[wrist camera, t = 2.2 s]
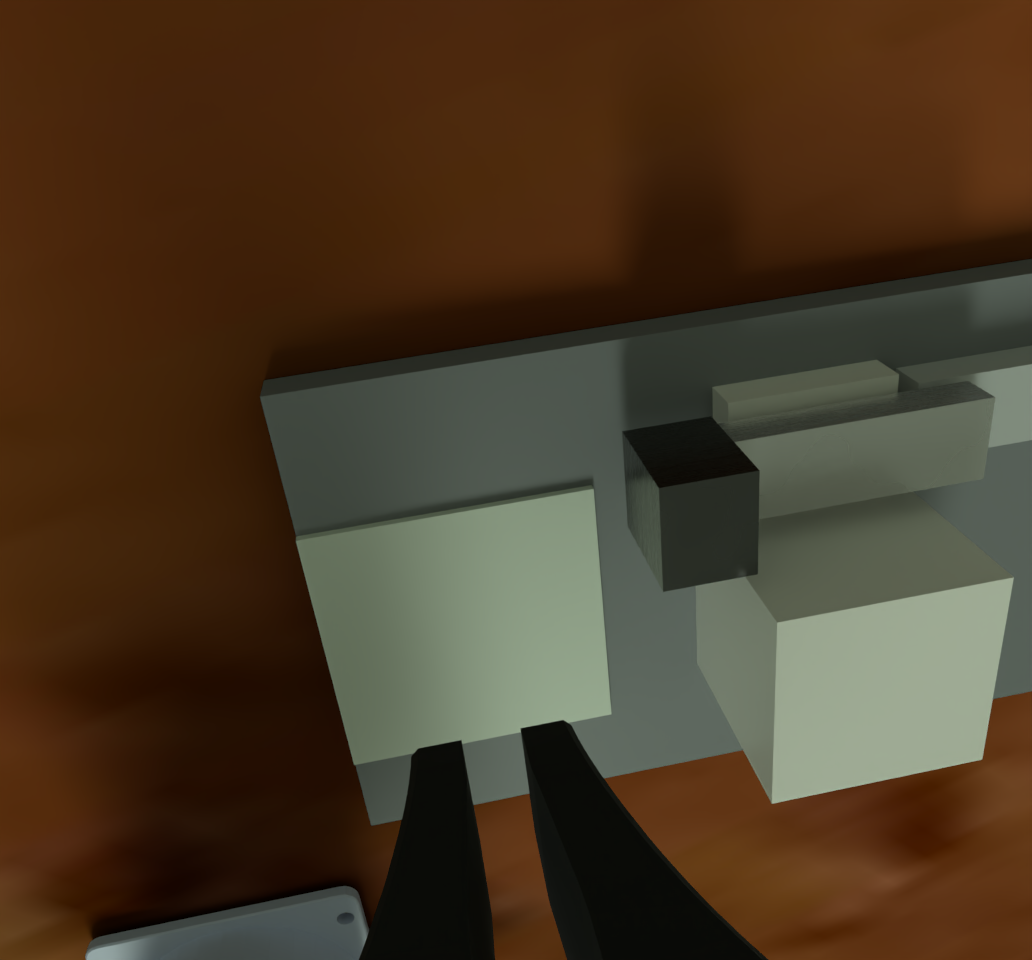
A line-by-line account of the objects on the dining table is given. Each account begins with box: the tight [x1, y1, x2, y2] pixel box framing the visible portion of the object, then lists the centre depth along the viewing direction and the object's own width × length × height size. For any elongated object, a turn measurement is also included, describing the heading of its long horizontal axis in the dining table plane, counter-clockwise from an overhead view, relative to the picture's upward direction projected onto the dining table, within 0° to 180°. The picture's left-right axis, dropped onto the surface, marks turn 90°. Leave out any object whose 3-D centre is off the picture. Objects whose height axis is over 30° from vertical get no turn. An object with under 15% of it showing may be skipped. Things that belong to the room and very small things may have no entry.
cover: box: [696, 360, 1014, 804], centre depth 21 cm, size 8×5×5 cm, turn 6°
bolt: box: [622, 381, 995, 592], centre depth 20 cm, size 2×8×3 cm, turn 96°
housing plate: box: [260, 259, 1032, 826], centre depth 23 cm, size 13×21×2 cm, turn 96°
